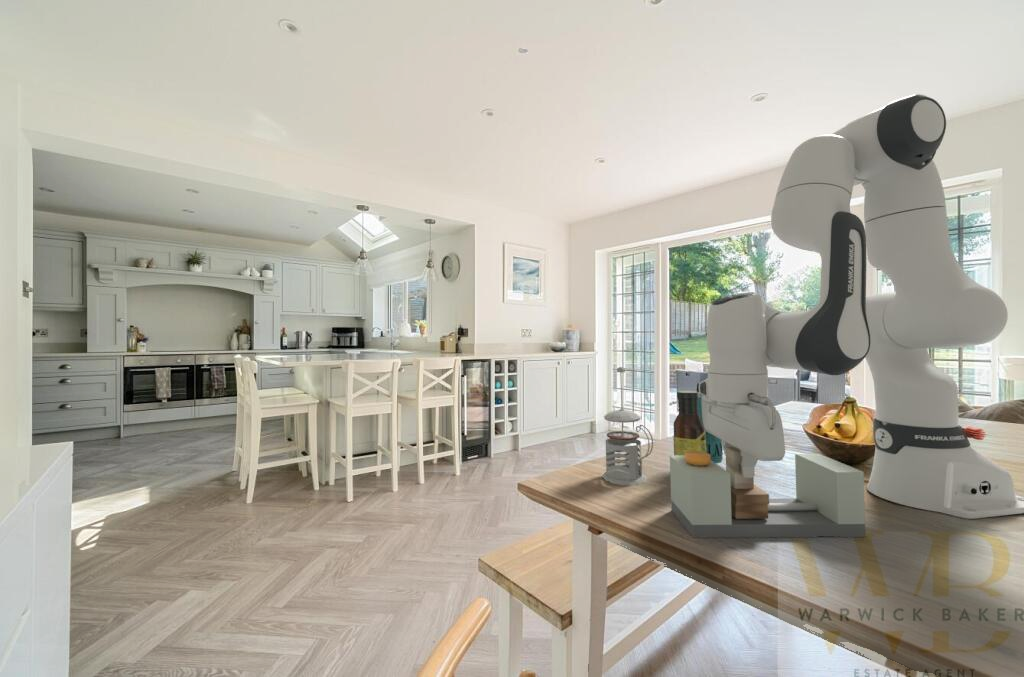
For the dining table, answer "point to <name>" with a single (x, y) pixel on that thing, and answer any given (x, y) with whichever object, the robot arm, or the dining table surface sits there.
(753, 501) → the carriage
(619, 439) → the french press
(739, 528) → the rail bench
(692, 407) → the sauce bottle
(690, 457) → the button
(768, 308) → the robot arm
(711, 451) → the beverage bottle
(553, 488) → the dining table surface
